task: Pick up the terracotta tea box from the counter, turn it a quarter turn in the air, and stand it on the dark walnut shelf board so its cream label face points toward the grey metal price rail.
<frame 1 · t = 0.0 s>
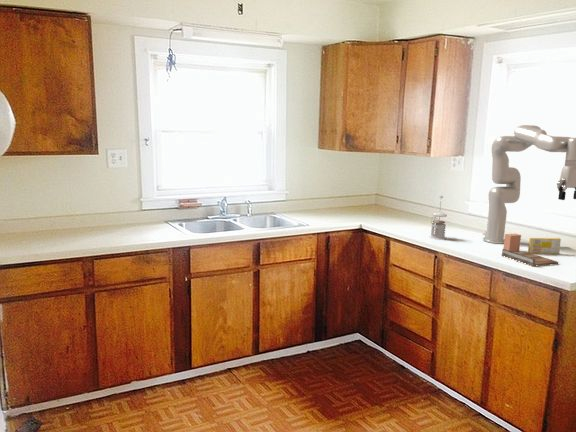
hand: (569, 199, 243), 31 cm above the worktop, tool pointing down, fingers open, 9 cm apart
candy box: (543, 253, 265), on the worktop
tea box: (511, 251, 268), on the worktop
shelf board: (529, 259, 250), on the worktop
price rail: (517, 260, 248), resting on shelf board
french press: (436, 237, 295), on the worktop
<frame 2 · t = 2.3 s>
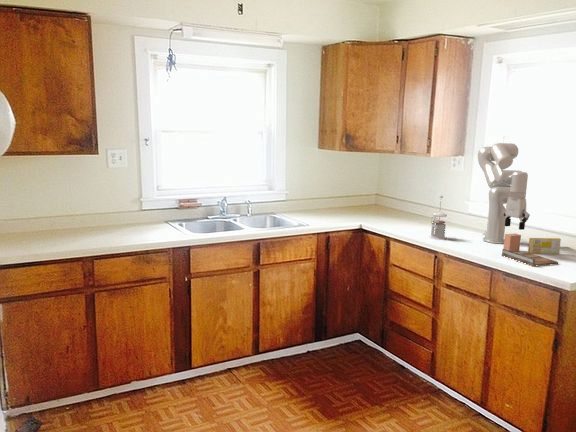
hand: (514, 227, 265), 13 cm above the worktop, tool pointing down, fingers open, 9 cm apart
nothing on the worktop moved.
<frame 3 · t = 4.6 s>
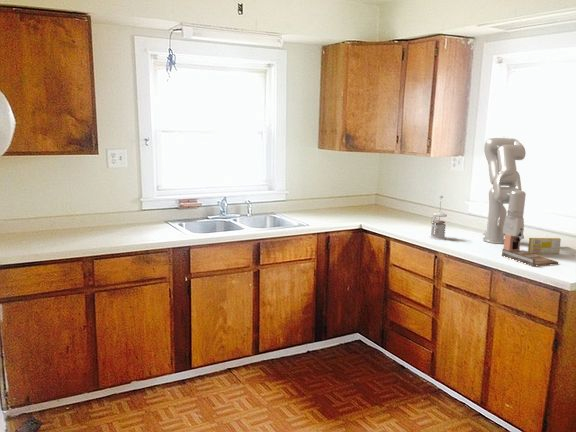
hand: (511, 247, 267), 2 cm above the worktop, tool pointing down, fingers closed on tea box, 4 cm apart
tea box: (511, 251, 268), on the worktop, touching gripper
everything else where it was.
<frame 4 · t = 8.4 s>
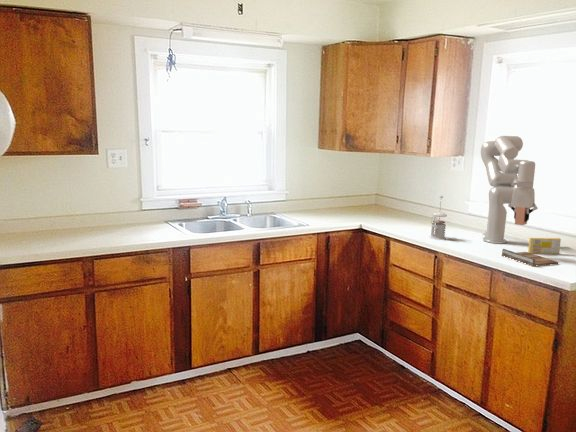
hand: (521, 220, 258), 18 cm above the worktop, tool pointing down, fingers closed on tea box, 4 cm apart
tea box: (520, 223, 259), point 16 cm above the worktop, touching gripper
everything else where it was.
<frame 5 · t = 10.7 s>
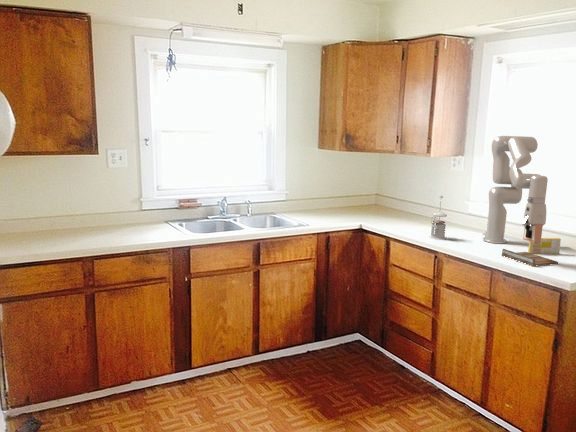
hand: (532, 237, 248), 12 cm above the worktop, tool pointing down, fingers closed on tea box, 4 cm apart
tea box: (531, 240, 248), point 10 cm above the worktop, touching gripper
everything else where it was.
when the fingers open (4 cm above the worktop, at t = 12.6 s): tea box drops 1 cm, resting on shelf board.
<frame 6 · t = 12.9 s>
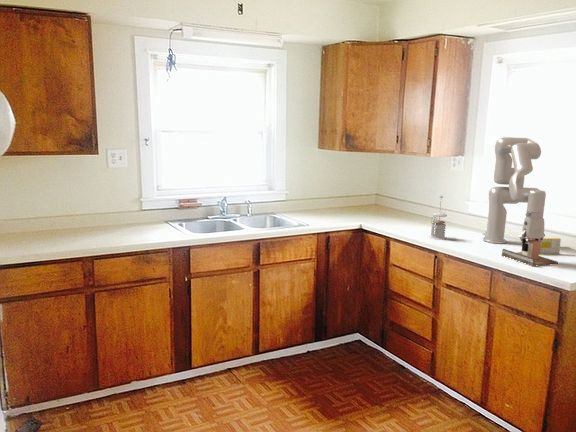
hand: (530, 250, 250), 5 cm above the worktop, tool pointing down, fingers open, 6 cm apart
tea box: (529, 257, 250), point 1 cm above the worktop, touching shelf board
everything else where it was.
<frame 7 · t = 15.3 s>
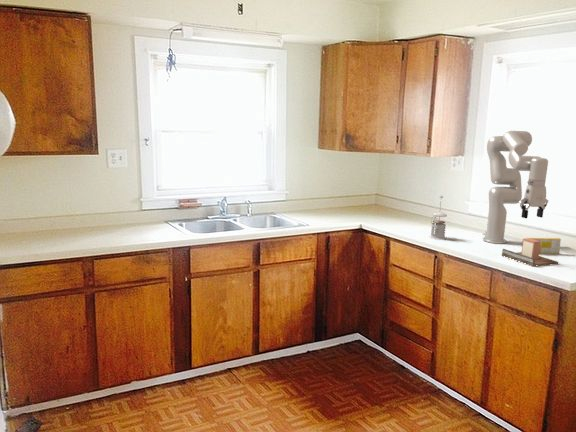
hand: (531, 217, 250), 21 cm above the worktop, tool pointing down, fingers open, 9 cm apart
nothing on the worktop moved.
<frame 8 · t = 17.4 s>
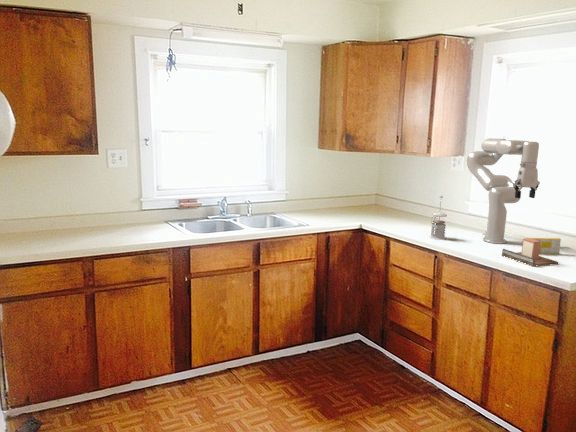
hand: (524, 197, 266), 28 cm above the worktop, tool pointing down, fingers open, 9 cm apart
nothing on the worktop moved.
at the end: tea box inside the target area on the shelf board (0.9 cm from its centre), point 1.2 cm above the shelf board's base; tea box tilted 0°; the gripper is holding nothing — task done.
